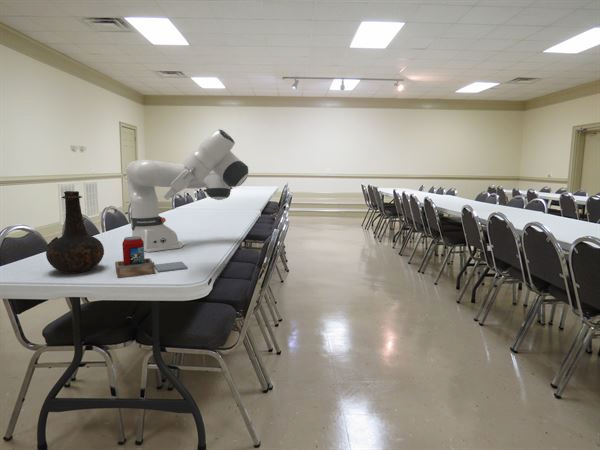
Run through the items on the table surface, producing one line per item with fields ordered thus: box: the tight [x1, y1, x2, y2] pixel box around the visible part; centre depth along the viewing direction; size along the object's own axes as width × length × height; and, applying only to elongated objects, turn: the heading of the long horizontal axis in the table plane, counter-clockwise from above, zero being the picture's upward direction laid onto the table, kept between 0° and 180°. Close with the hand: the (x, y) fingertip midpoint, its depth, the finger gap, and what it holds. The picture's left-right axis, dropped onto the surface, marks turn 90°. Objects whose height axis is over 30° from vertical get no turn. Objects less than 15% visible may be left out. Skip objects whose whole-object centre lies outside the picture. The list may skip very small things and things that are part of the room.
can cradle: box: [114, 257, 156, 278], centre depth 140 cm, size 12×12×4 cm
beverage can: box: [122, 236, 146, 266], centre depth 140 cm, size 7×7×12 cm
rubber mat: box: [154, 261, 189, 273], centre depth 146 cm, size 10×10×1 cm
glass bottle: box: [45, 190, 105, 274], centre depth 141 cm, size 18×18×28 cm
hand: (167, 197), depth 139 cm, fingers open, 8 cm apart
